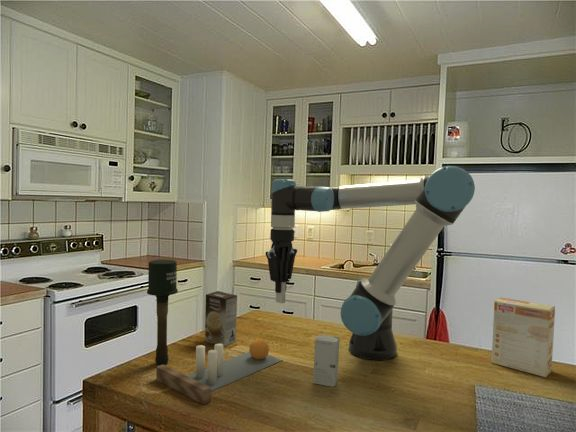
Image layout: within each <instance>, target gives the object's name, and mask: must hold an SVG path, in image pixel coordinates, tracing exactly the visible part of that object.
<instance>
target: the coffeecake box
mask: <svg viewBox="0 0 576 432" xmlns="http://www.w3.org/2000/svg"><path fill="white" fill-rule="evenodd" d="M555 314H556V305H555V306H554V305H549V304H542V303H538V302H537V303H536V302H531V301H525V300H519V299H513V298H508V297H507V298H506V297H500V298H498V299H495V300H494V303H493V323H492V324H493V325H492V346H491V364H495V365H499V366H502V367H506V368H510V369H514V370H517V371H521V372H525V373H529V374H532V375H536V376H539V377H543V378H547V377H548V376H549V375H550V374H551V372H552V370H553V369H552V367H553V355H554V354H553V352H554V333H555V316H556V315H555Z"/></svg>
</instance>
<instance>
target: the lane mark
mask: <svg viewBox="0 0 576 432" xmlns="http://www.w3.org/2000/svg"><path fill="white" fill-rule="evenodd" d="M282 361H283V359H281V358H278V357H275V356H272V355H270V354H268V355H267V356H266V357H265V358H264V359H261V360H257V359H254V358H253V357H252V356H251V355H250V352H249V351H247V352H245V353H242V354H239V355H238V356H234V357H231V358H229V359H227V360H223V375H222V376H219V377H217V383H216V384H212V385H211V384H208V366H207V367H205V377H204V378H202V379H197V378H196V371H195V372H191V373H188V374H186V376H188V377H190V378H192V379H194V380H196V381H198V382H200V383H202V384H204V385H206V386H209V387H211V392H214V391H216V390H218V389H221V388H223V387H225V386H227V385H229V384H232V383H235V382H237V381H239V380H241V379H243V378H246V377H249V376H250V375H253V374H255V373H257V372H260V371H262V370H265V369H267V368H269V367H271V366H274V365H275V364H279V363H281V362H282Z"/></svg>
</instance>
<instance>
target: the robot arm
mask: <svg viewBox="0 0 576 432" xmlns="http://www.w3.org/2000/svg"><path fill="white" fill-rule="evenodd" d="M475 190H476V185H475V181H474V178H473V177H472V175H471V174H470V173H469V172H468V171H466V169H464V168H461V167H459V166H457V165H446V166H445V165H444V166H442V167H439V168H437V169H435V170H434V171H432V172H431V174H426V175H422V177H421V178H419V179H417V178H416V179H408V180H407V179H406V180H396V181H395V180H394V181H385V182H375V183H374V182H372V183H361V184H350V185H349V184H348V185H339V186H338V185H337V186H316V185H313V186H312V185H310V186H309V185H307V186H304V185H303V186H300V185H297V182H296V180H294V179H286V178H285V179H282V178H276V179H274V180H273V181H272V185H271V192H270V195H271V207H270V208H271V209H270V211H271V212H270V227H271V229H270V235H269V239H270V241H271V242H272V243H271V247H270V249H269V251H266V252H265V254H264V255H265V256H266V258H267V265H268V272H269V278H270V281H271V282H274V283H275V284H274V285H275V286H274V287H275V288H274V291H275V302H276V303H277V304H284V303H286V292H287V283H289V282H290V280H291V279H292V276H293V271H294V264H295V259H296V255H297V253H298V249H296V248H294V247H293V242H294V240H295V229H294V228H295V225H296V224H295V223H296V216H295V215H296V211H303V212H304V211H308V212H318V213H321V212H322V213H324V212H330V211H333V210H342V209H343V210H345V209H346V210H347V209H359V208H360V209H361V208H378V207H393V206H396V207H397V206H412V205H414V206H415V210H414V212H413V213H412V215H411V216H410V218H409V219H408V220H407V222H406V224H405V225H404V227H402V229H401V231H400V232H399V234H398V235H397V237H395V240H394V241H393V242H392V244H391V245H390V246H389V248H388V250H387V251H386V252H385V254H384V256H383V257H382V259H380V262H379V263H377V264H378V265H376V267H375V269H374V270H373V271H372V273H371V274H370V276H369V277H365V278H361V279H359V280H357V281H356V286H355V288H354V289H353V291H352V292H351V294H350V295H349V297H347V298H345V300H344V301H343V303H342V305H341V306H340V307H341V308H340V318H341V322H342V324H343V326H344V327H345V328H346V329H347V330H348V331H349V332H351V337H350V339H349V342H348V350H349V352H350V353H351V354H352V355H354V356H356V357H359V358H363V359H367V360H373V361H374V360H375V361H376V360H378V361H382V360H383V361H384V360H389V359H390V360H391V359H392V358H394V357H396V356H397V349H398V347H397V346H398V345H397V343H396V339H395V336H394V333H393V310H394V307H395V305H396V304H397V303H396V302H397V301H396V294H397V293H398V291H399V290H400V289H401V288H402V285H404V283H405V282H406V280H407V279H408V277H409V276H410V275H411V273H412V272H413V271H414V269H415V267H417V265H418V263H419V262H420V261H421V260H422V258H423V256H424V255H425V254H426V252H427V251H428V249H429V248H430V247H431V245H432V244H433V242H434V241H435V240H436V238H437V237H438V235H439V234H440V232H441V231H442V230H443V229H444V227H446V226H452V225H453V224H455V222H456V220H457V219H458V218H459V217H460V215H461V214H462V212H463V211H464V209H465V208H466V206H467V205H469V204H470V202H471V201H472V200H473V198H474V195H475Z"/></svg>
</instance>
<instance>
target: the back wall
mask: <svg viewBox="0 0 576 432" xmlns="http://www.w3.org/2000/svg"><path fill="white" fill-rule="evenodd" d="M155 369H156V370H155V371H156V372H155V377H156V380H157V381H158V382H160V383H162V384H164V385H166V386H167V387H170V388H171V389H174V390H175V391H178V393H180V394H183V395H184V396H186V397H188V398H191V399H193V400H194V401H196V402H198V403H200V404H202V405H203V406H204V405H207V404H209V403H211V399H212V397H211V396H212V395H211V393H212V391H211V387H209V386H206V385H204V384H202V383H200V382H198V381H196V380H194V379H192V378H190V377H188V376H186V375H187V374H186V375H185V374H183V373H181V372H179V371H177V370H175V369H174V368H171V367H169V366H167V365H157V366H156V368H155Z"/></svg>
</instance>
